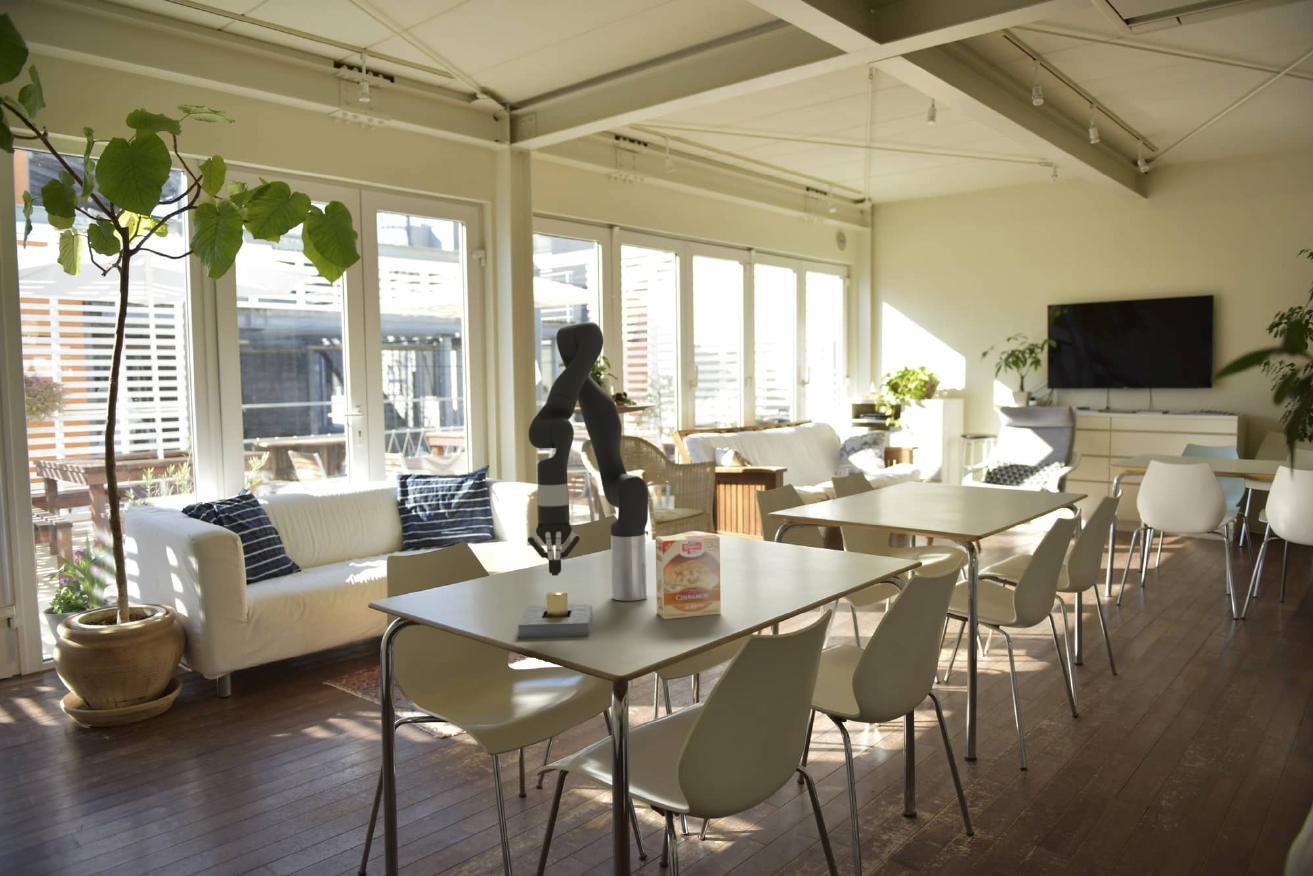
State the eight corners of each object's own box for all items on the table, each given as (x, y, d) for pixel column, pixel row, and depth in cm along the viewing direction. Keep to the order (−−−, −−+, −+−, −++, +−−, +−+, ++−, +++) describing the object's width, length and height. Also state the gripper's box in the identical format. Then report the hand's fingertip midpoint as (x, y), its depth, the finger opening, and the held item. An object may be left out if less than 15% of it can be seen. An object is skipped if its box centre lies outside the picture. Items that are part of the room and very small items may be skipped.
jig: (592, 616, 230) (592, 604, 230) (588, 635, 212) (588, 623, 212) (528, 618, 229) (527, 606, 229) (518, 637, 211) (518, 625, 211)
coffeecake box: (664, 620, 225) (662, 540, 223) (656, 613, 231) (654, 536, 230) (722, 614, 229) (720, 536, 228) (712, 607, 236) (710, 532, 234)
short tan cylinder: (568, 623, 223) (567, 590, 223) (567, 629, 218) (566, 595, 218) (548, 624, 223) (547, 591, 223) (546, 629, 218) (545, 596, 218)
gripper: (582, 500, 223) (584, 571, 224) (527, 501, 223) (529, 572, 224) (580, 504, 215) (581, 577, 216) (523, 505, 215) (525, 578, 216)
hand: (555, 574), depth 220 cm, fingers closed
